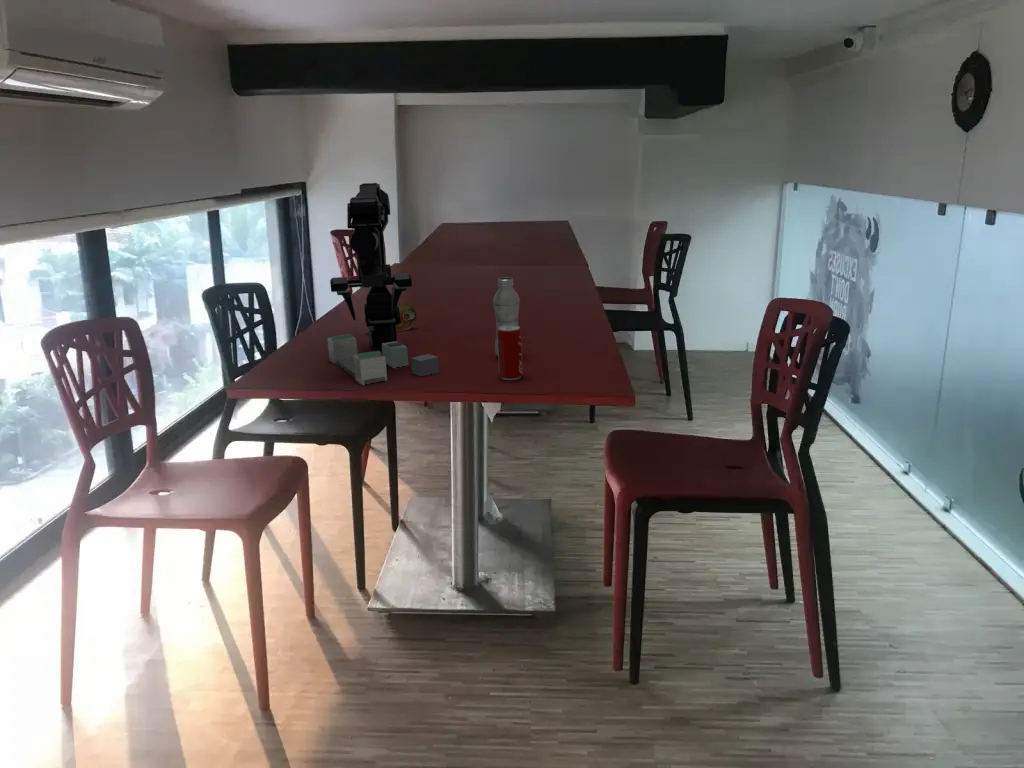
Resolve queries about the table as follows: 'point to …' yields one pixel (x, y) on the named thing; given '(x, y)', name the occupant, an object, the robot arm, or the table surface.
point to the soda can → (510, 352)
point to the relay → (425, 365)
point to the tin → (405, 317)
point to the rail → (357, 359)
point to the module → (395, 354)
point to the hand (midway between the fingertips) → (373, 318)
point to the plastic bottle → (505, 305)
